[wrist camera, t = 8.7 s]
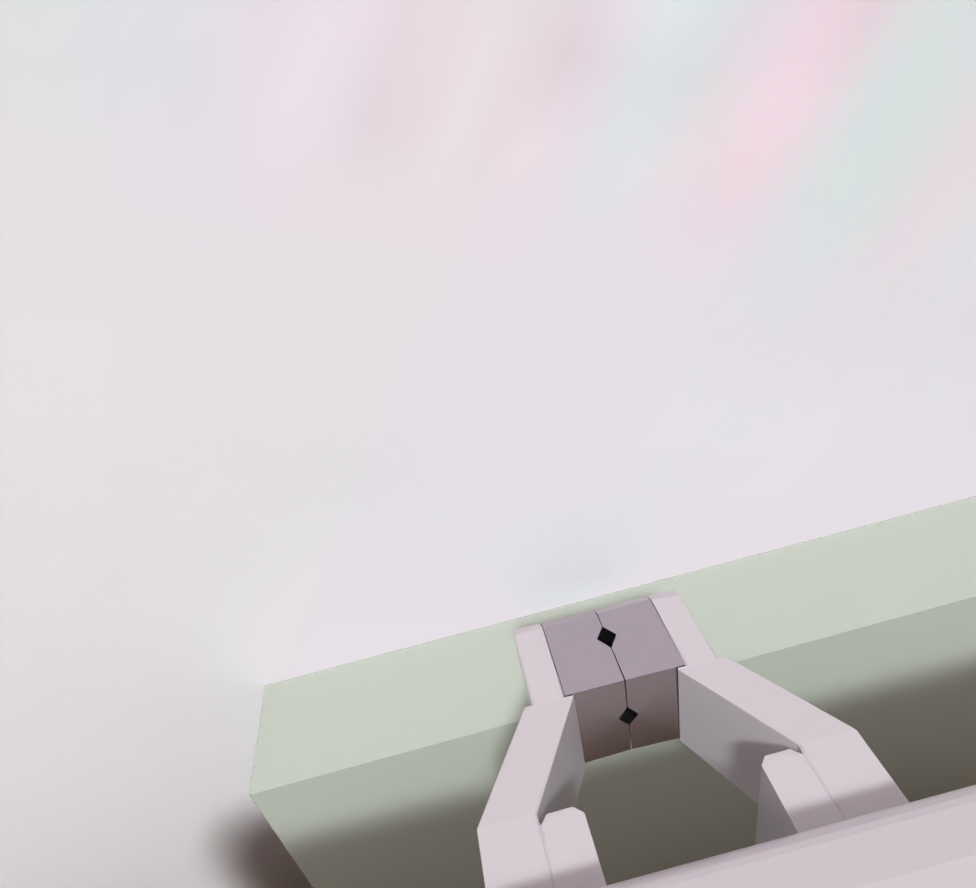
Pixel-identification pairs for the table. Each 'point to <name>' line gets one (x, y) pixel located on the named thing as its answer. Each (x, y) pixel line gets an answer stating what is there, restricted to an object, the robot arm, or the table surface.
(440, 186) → the table surface
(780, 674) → the panel
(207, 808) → the table surface
